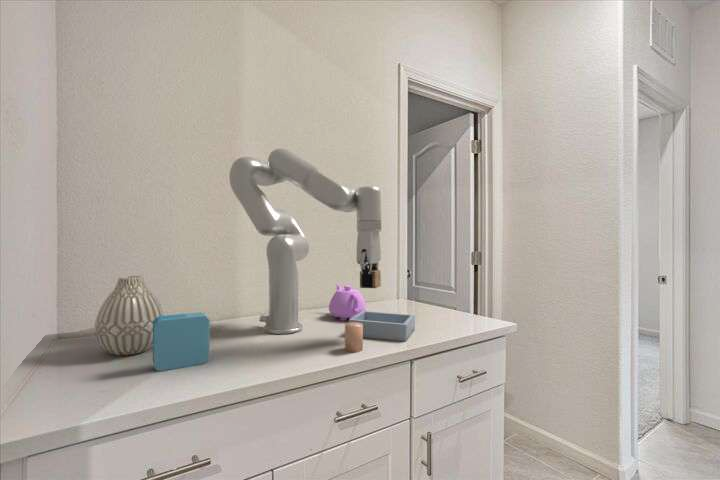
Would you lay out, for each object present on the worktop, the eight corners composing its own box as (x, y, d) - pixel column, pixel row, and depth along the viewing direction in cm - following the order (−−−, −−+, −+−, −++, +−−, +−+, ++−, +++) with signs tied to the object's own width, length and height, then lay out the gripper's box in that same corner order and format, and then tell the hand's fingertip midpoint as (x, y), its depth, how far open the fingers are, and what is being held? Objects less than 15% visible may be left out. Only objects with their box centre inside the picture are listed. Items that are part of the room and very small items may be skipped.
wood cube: (360, 287, 115) (359, 271, 115) (365, 285, 120) (365, 270, 119) (375, 288, 113) (375, 271, 113) (380, 286, 118) (380, 270, 118)
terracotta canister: (342, 351, 103) (342, 325, 103) (348, 346, 108) (348, 321, 108) (359, 353, 102) (359, 327, 101) (364, 347, 106) (365, 323, 106)
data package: (206, 358, 96) (206, 311, 96) (209, 363, 92) (209, 314, 92) (152, 366, 90) (152, 316, 90) (154, 372, 86) (154, 320, 86)
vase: (91, 349, 103) (91, 275, 102) (156, 338, 113) (157, 272, 112) (98, 365, 90) (98, 282, 90) (170, 352, 101) (170, 277, 100)
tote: (348, 335, 119) (348, 319, 119) (362, 325, 132) (362, 310, 132) (406, 341, 113) (406, 324, 113) (414, 329, 127) (415, 315, 127)
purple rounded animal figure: (320, 313, 151) (320, 283, 151) (352, 310, 157) (352, 281, 157) (339, 324, 133) (339, 290, 133) (374, 321, 139) (375, 288, 139)
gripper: (367, 227, 125) (368, 282, 126) (347, 227, 110) (348, 289, 110) (388, 227, 123) (390, 282, 123) (371, 226, 107) (373, 290, 107)
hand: (370, 285), depth 116 cm, fingers closed on wood cube, 5 cm apart
